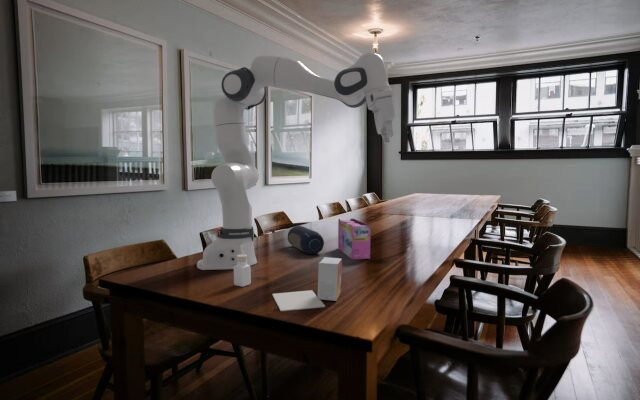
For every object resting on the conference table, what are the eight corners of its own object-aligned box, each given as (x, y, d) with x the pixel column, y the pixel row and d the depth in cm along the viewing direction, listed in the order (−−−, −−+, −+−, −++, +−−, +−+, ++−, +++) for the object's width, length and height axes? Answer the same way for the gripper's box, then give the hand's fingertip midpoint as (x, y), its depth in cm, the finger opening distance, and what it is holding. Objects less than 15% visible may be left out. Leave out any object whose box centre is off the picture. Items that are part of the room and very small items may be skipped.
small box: (336, 301, 111) (338, 264, 110) (316, 299, 112) (318, 262, 111) (341, 293, 119) (342, 258, 118) (322, 291, 120) (323, 256, 119)
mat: (280, 311, 104) (280, 310, 104) (272, 294, 117) (272, 293, 117) (325, 306, 107) (325, 305, 107) (311, 291, 120) (311, 290, 120)
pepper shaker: (242, 287, 124) (241, 257, 124) (233, 285, 127) (232, 255, 126) (251, 284, 128) (250, 255, 127) (242, 282, 130) (242, 253, 129)
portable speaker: (285, 246, 188) (284, 225, 187) (305, 244, 192) (304, 223, 191) (304, 257, 165) (304, 233, 164) (326, 255, 169) (326, 231, 168)
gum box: (336, 247, 184) (336, 218, 183) (353, 247, 185) (353, 218, 184) (352, 259, 160) (352, 226, 159) (370, 258, 162) (371, 225, 161)
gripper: (368, 111, 145) (376, 148, 144) (373, 91, 125) (382, 134, 124) (385, 108, 145) (393, 144, 144) (393, 87, 125) (402, 130, 123)
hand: (388, 139), depth 134 cm, fingers open, 8 cm apart
